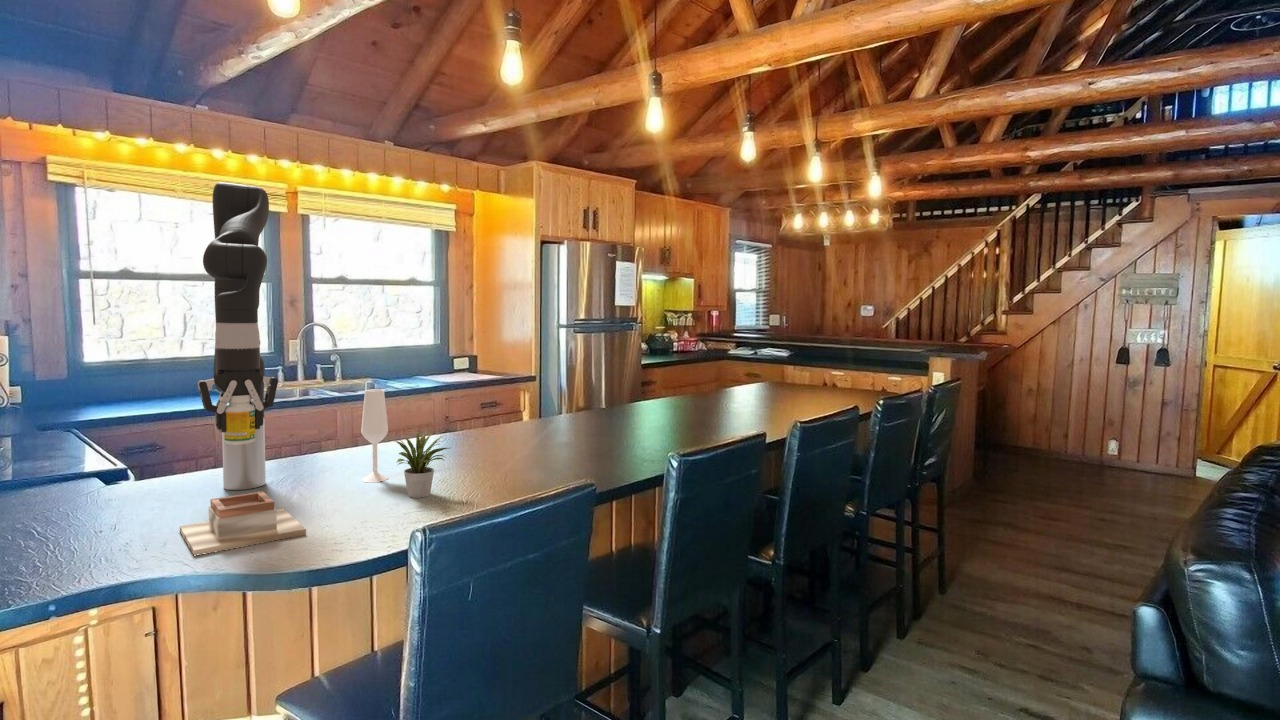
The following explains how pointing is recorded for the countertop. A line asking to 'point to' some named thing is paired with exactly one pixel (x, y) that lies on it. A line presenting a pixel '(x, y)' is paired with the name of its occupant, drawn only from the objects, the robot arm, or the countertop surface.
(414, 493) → the house plant
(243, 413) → the supplement bottle
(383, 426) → the champagne flute
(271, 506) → the tower base
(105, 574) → the countertop surface
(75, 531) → the countertop surface
